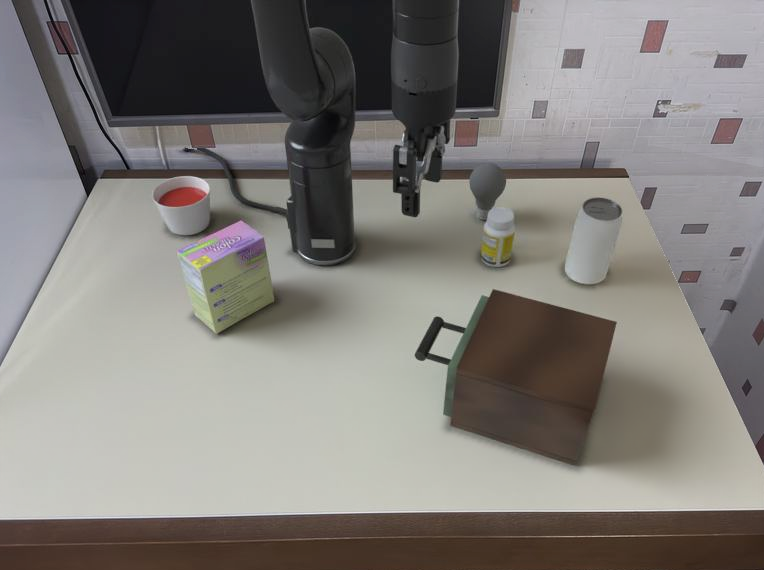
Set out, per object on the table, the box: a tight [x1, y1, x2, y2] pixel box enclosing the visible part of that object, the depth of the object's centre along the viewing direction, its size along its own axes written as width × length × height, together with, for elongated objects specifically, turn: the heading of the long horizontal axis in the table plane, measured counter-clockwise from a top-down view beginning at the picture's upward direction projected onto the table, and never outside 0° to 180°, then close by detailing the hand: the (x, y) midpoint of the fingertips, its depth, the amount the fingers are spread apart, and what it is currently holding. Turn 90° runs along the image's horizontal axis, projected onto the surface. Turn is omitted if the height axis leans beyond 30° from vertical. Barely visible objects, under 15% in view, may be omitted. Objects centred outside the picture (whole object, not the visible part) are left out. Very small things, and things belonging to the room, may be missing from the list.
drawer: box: [414, 294, 489, 418], centre depth 84 cm, size 20×14×9 cm
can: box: [564, 196, 623, 286], centre depth 101 cm, size 6×6×12 cm
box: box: [176, 220, 276, 335], centre depth 94 cm, size 10×6×12 cm, turn 134°
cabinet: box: [449, 288, 618, 467], centre depth 83 cm, size 16×15×11 cm
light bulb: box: [468, 162, 507, 221], centre depth 112 cm, size 6×6×10 cm
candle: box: [151, 175, 211, 236], centre depth 110 cm, size 9×9×6 cm
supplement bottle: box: [480, 206, 516, 268], centre depth 105 cm, size 5×5×8 cm
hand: (422, 197), depth 88 cm, fingers open, 8 cm apart
